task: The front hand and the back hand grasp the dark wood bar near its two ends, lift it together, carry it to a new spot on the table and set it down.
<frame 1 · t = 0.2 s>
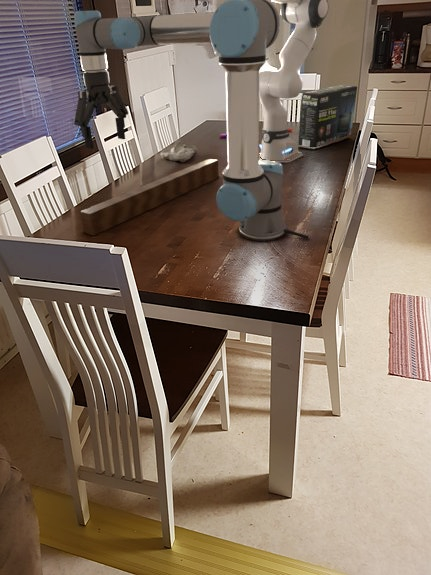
front hand: (106, 143, 148), 27 cm above the table, tool pointing down, fingers open, 13 cm apart
back hand: (225, 55, 180), 47 cm above the table, tool pointing down, fingers open, 8 cm apart
handgun: (231, 139, 258), on the table
fossil: (178, 158, 230), on the table
router box: (325, 143, 245), on the table
bar: (160, 201, 178), on the table
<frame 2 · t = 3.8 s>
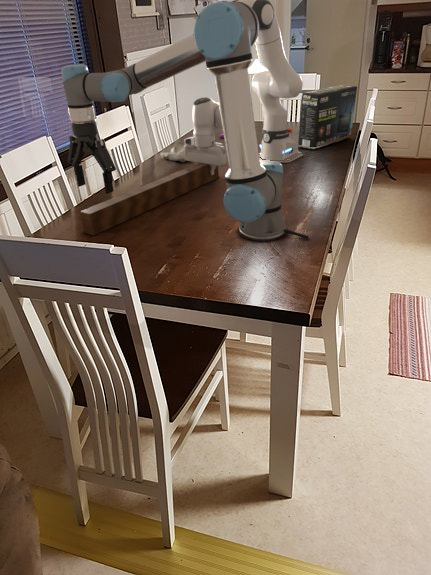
front hand: (95, 188, 150), 14 cm above the table, tool pointing down, fingers open, 13 cm apart
back hand: (205, 173, 196), 3 cm above the table, tool pointing down, fingers closed on bar, 5 cm apart
bar: (160, 201, 178), on the table, touching back hand
everything else where it was.
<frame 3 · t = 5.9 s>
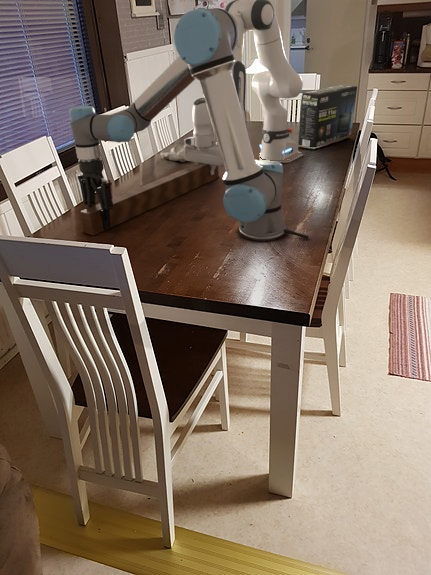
front hand: (102, 226, 157), 1 cm above the table, tool pointing down, fingers closed on bar, 5 cm apart
back hand: (205, 173, 196), 3 cm above the table, tool pointing down, fingers closed on bar, 5 cm apart
bar: (160, 201, 178), on the table, touching front hand, back hand
everything else where it was.
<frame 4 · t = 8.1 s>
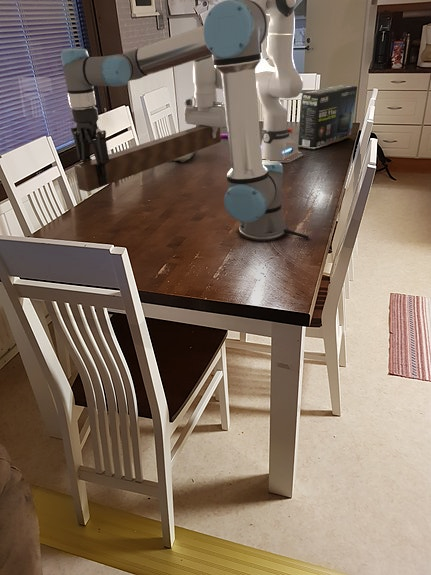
front hand: (97, 183, 148), 16 cm above the table, tool pointing down, fingers closed on bar, 5 cm apart
back hand: (207, 136, 188), 18 cm above the table, tool pointing down, fingers closed on bar, 5 cm apart
bar: (159, 162, 169), point 15 cm above the table, touching front hand, back hand
everything else where it was.
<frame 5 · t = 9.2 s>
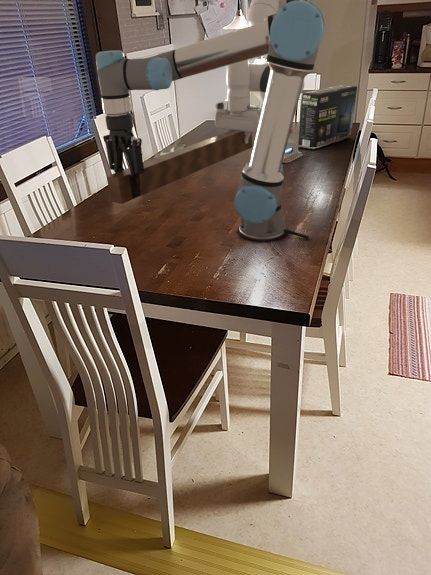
front hand: (130, 194, 138), 16 cm above the table, tool pointing down, fingers closed on bar, 5 cm apart
back hand: (238, 142, 177), 19 cm above the table, tool pointing down, fingers closed on bar, 5 cm apart
bar: (191, 170, 159), point 15 cm above the table, touching front hand, back hand
everything else where it was.
when the front hand's fingers open (2 cm above the table, at t = 12.3 s): bar drops 1 cm, on the table.
when the back hand's fingers open (4 cm above the table, at t = 12.5 s): bar stays where it is, on the table.
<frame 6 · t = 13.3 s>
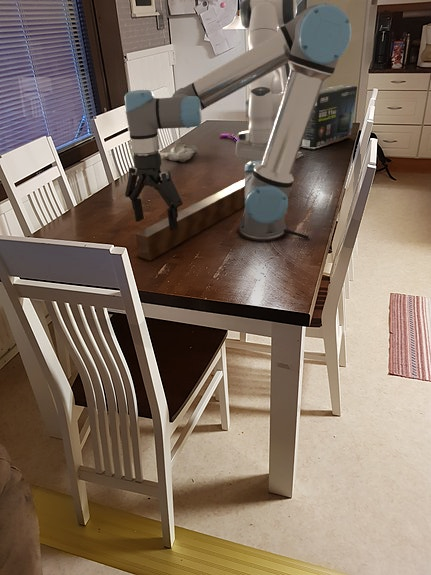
front hand: (156, 224, 136), 9 cm above the table, tool pointing down, fingers open, 13 cm apart
back hand: (260, 172, 177), 9 cm above the table, tool pointing down, fingers open, 8 cm apart
bar: (214, 218, 161), on the table
everything else where it was.
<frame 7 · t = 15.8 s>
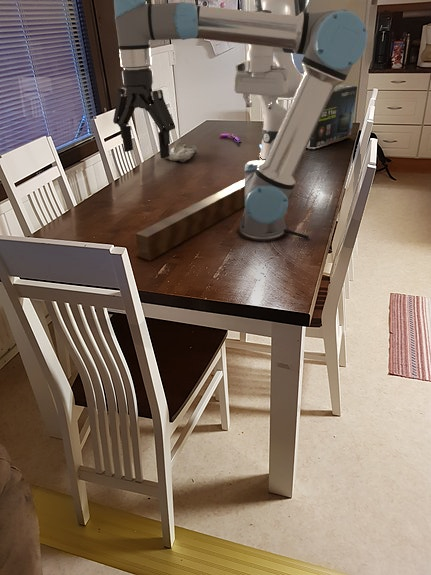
front hand: (146, 153, 125), 30 cm above the table, tool pointing down, fingers open, 13 cm apart
back hand: (259, 108, 164), 32 cm above the table, tool pointing down, fingers open, 8 cm apart
nothing on the table moved.
at the end: bar inside the target area (0.2 cm from its centre), on the table; bar tilted 0°; bar never tilted more than 2° during the clip; both hands held the bar at the same time; the front hand is holding nothing; the back hand is holding nothing; bar at rest at the end (0.0 cm/s) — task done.
